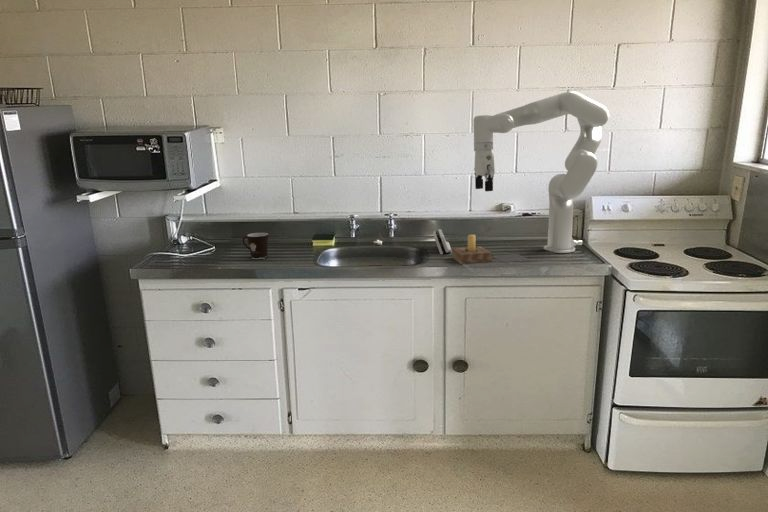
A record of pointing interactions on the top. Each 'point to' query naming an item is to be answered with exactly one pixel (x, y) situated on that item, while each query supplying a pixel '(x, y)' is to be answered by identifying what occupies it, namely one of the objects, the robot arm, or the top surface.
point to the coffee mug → (257, 244)
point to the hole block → (471, 255)
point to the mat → (509, 258)
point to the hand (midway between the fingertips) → (484, 189)
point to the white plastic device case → (441, 242)
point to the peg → (471, 243)
